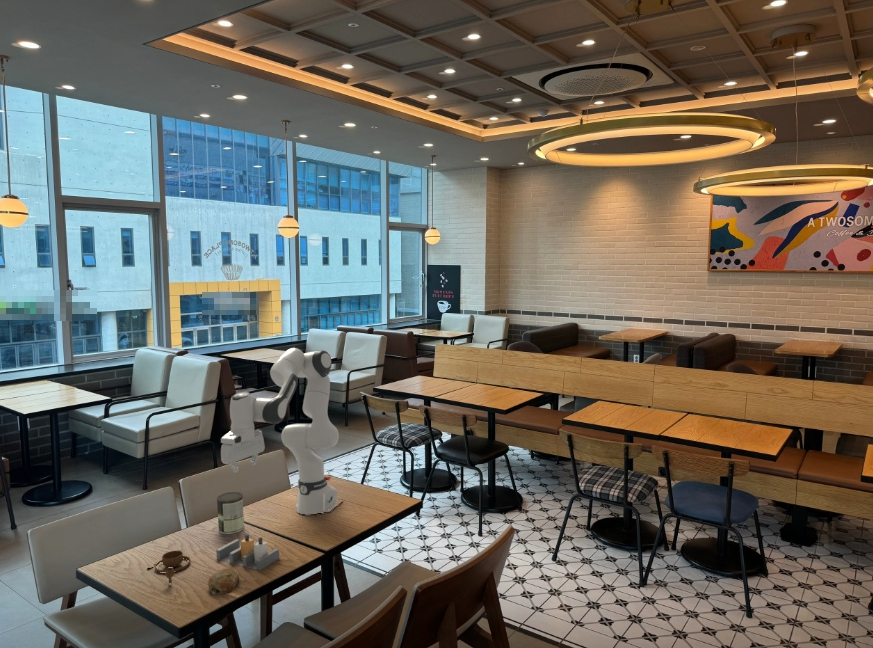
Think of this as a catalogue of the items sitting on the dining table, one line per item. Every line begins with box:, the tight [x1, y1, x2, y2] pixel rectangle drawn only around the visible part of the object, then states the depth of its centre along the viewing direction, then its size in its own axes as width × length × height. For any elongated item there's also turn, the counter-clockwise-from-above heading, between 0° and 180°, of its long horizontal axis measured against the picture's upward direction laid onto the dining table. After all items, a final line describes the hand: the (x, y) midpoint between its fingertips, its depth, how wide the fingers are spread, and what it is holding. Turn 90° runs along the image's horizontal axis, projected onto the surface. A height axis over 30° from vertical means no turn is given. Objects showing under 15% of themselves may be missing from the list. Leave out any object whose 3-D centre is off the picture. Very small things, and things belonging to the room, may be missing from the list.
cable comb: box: [215, 539, 280, 571], centre depth 225 cm, size 10×21×4 cm, turn 63°
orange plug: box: [240, 533, 255, 560], centre depth 224 cm, size 3×4×9 cm
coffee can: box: [216, 491, 245, 535], centre depth 253 cm, size 10×10×14 cm
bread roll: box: [207, 568, 240, 595], centre depth 206 cm, size 10×10×8 cm
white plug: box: [254, 536, 269, 563], centre depth 221 cm, size 3×4×9 cm
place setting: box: [154, 550, 191, 584], centre depth 218 cm, size 18×20×6 cm
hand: (244, 468), depth 241 cm, fingers open, 8 cm apart
